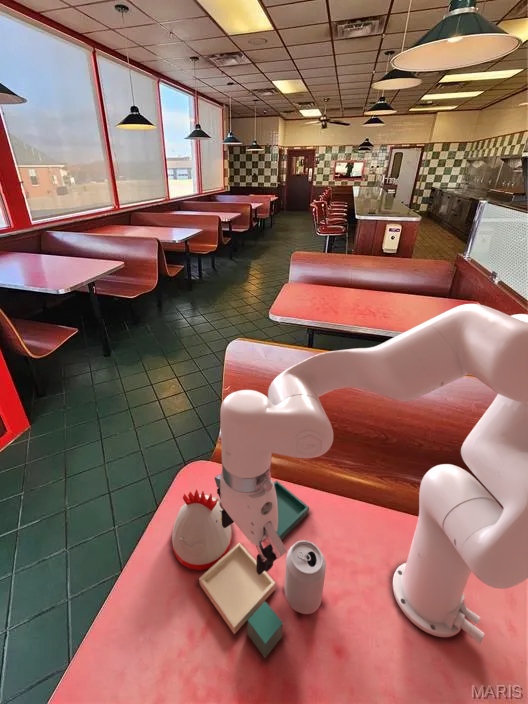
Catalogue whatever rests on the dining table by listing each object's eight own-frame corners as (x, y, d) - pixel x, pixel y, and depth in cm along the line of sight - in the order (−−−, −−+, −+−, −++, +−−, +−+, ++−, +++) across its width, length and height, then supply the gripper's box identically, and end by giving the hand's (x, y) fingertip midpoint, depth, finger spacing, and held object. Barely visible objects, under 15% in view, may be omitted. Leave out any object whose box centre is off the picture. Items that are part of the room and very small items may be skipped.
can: (322, 621, 63) (327, 581, 58) (282, 612, 64) (285, 572, 60) (321, 578, 70) (326, 540, 65) (285, 571, 71) (288, 533, 67)
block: (282, 637, 61) (283, 622, 59) (264, 658, 58) (265, 644, 56) (264, 615, 64) (265, 600, 62) (247, 634, 61) (247, 620, 59)
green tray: (308, 513, 84) (309, 507, 83) (279, 542, 77) (279, 536, 76) (276, 486, 92) (276, 480, 91) (246, 510, 85) (246, 504, 84)
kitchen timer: (220, 577, 70) (218, 528, 64) (162, 560, 73) (155, 512, 68) (238, 518, 82) (237, 473, 77) (187, 506, 86) (183, 462, 80)
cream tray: (275, 589, 68) (275, 582, 67) (234, 634, 61) (234, 627, 60) (239, 548, 76) (239, 542, 75) (199, 584, 69) (198, 578, 68)
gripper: (305, 493, 46) (298, 572, 52) (233, 427, 59) (234, 497, 65) (265, 524, 42) (262, 606, 48) (196, 446, 55) (201, 519, 61)
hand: (246, 543), depth 57 cm, fingers open, 9 cm apart
